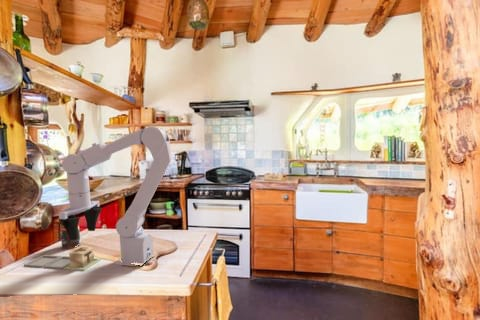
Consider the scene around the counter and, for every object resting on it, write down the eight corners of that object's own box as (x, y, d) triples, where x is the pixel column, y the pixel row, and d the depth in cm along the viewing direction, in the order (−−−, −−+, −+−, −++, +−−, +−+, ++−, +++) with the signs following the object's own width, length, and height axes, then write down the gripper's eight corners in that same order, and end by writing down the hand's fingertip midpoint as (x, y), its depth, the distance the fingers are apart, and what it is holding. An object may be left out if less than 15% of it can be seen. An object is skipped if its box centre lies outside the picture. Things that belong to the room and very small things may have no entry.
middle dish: (80, 259, 90) (80, 257, 90) (63, 270, 83) (63, 267, 83) (62, 258, 91) (62, 256, 91) (44, 268, 84) (43, 265, 84)
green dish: (100, 261, 88) (100, 258, 88) (84, 271, 81) (84, 268, 81) (82, 259, 90) (81, 257, 89) (64, 270, 83) (64, 267, 83)
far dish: (61, 258, 91) (61, 256, 91) (42, 268, 84) (42, 265, 84) (44, 257, 93) (43, 254, 92) (24, 267, 86) (23, 264, 86)
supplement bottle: (84, 244, 103) (82, 215, 103) (73, 250, 98) (70, 219, 97) (69, 244, 104) (67, 215, 103) (58, 250, 98) (55, 219, 97)
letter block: (94, 261, 87) (93, 247, 87) (83, 268, 83) (82, 253, 82) (81, 260, 88) (80, 246, 88) (70, 267, 84) (69, 252, 83)
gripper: (85, 187, 93) (88, 226, 94) (48, 197, 78) (52, 243, 80) (103, 188, 91) (106, 227, 92) (69, 197, 77) (73, 244, 78)
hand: (82, 234), depth 86 cm, fingers open, 7 cm apart
